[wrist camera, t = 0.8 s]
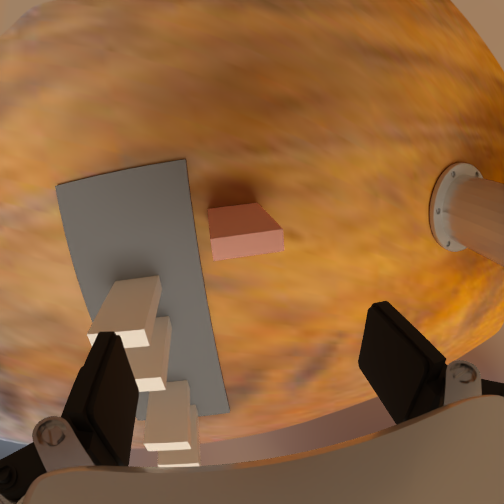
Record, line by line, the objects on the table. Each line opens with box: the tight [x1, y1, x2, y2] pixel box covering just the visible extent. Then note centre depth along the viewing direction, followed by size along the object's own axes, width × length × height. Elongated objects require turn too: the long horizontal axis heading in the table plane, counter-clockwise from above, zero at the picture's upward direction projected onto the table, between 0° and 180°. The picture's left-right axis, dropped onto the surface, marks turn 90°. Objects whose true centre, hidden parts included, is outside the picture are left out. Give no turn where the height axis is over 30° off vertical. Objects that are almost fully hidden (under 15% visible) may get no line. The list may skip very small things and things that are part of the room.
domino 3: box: [143, 380, 191, 451], centre depth 31 cm, size 5×2×10 cm, turn 95°
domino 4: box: [158, 405, 201, 467], centre depth 33 cm, size 5×2×10 cm, turn 95°
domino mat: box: [55, 159, 230, 420], centre depth 32 cm, size 14×34×1 cm, turn 5°
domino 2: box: [124, 316, 172, 392], centre depth 27 cm, size 5×2×10 cm, turn 95°
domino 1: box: [87, 275, 162, 348], centre depth 26 cm, size 5×2×10 cm, turn 95°
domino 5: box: [208, 203, 284, 261], centre depth 25 cm, size 5×2×10 cm, turn 95°
